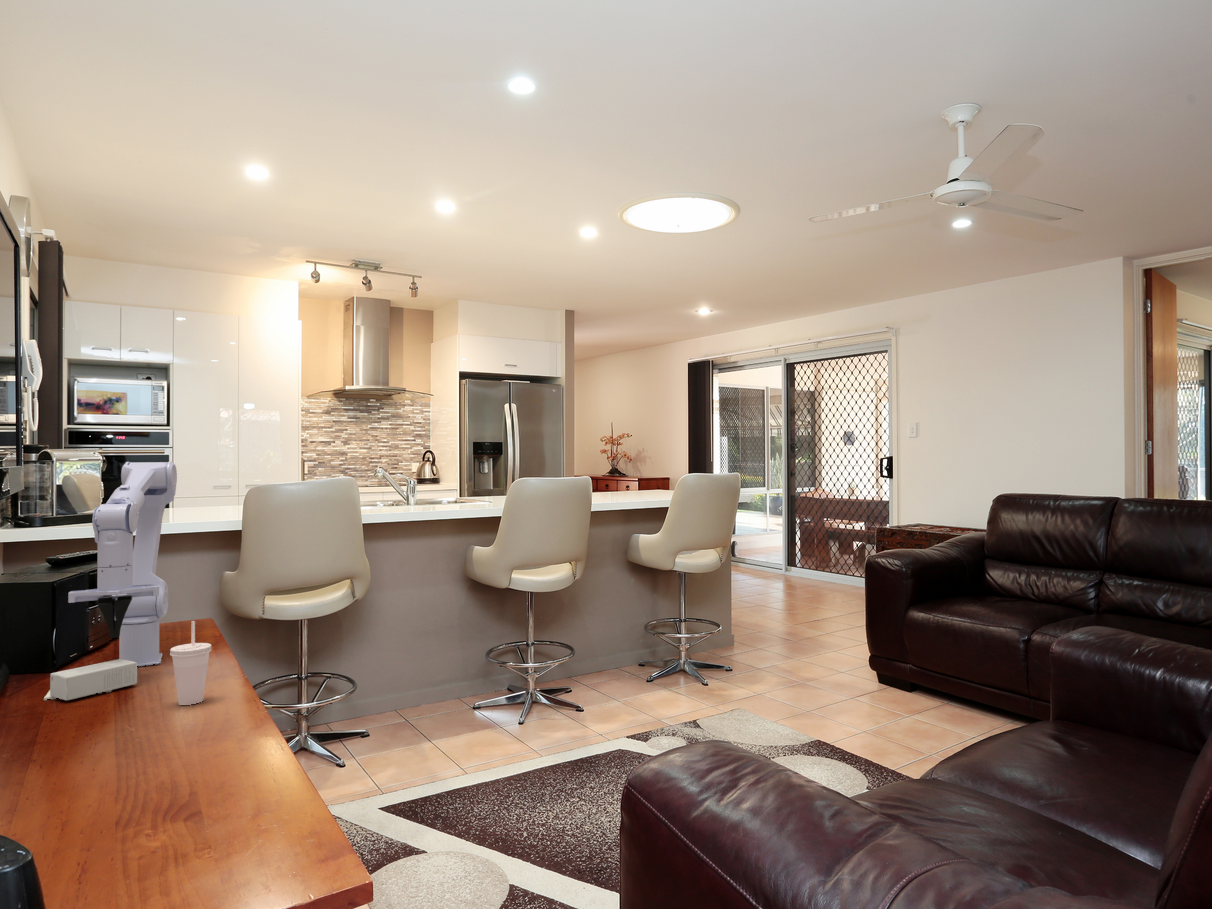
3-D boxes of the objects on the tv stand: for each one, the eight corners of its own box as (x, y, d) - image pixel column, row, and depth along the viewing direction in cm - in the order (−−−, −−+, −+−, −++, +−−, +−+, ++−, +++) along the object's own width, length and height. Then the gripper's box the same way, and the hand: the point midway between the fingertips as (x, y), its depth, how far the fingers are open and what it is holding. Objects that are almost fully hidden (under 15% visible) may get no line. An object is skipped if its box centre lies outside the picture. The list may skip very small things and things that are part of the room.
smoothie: (219, 697, 132) (219, 618, 132) (196, 708, 125) (196, 625, 126) (185, 696, 132) (186, 618, 133) (160, 708, 126) (161, 625, 126)
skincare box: (121, 680, 143) (49, 696, 132) (121, 658, 143) (49, 672, 132) (138, 684, 139) (65, 701, 129) (138, 661, 140) (66, 676, 129)
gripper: (65, 570, 136) (65, 645, 135) (158, 565, 143) (158, 636, 142) (71, 566, 142) (71, 638, 141) (160, 561, 149) (159, 629, 148)
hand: (115, 636), depth 142 cm, fingers closed
